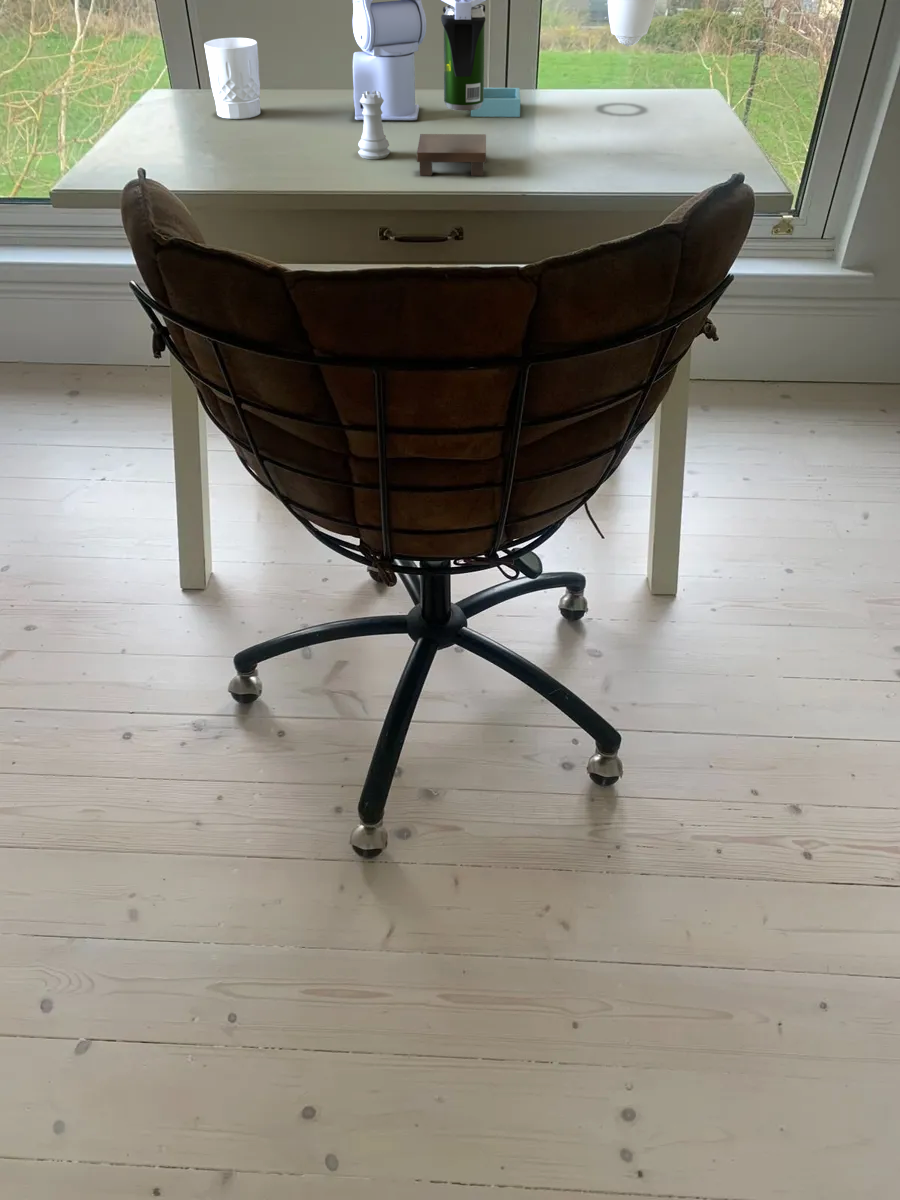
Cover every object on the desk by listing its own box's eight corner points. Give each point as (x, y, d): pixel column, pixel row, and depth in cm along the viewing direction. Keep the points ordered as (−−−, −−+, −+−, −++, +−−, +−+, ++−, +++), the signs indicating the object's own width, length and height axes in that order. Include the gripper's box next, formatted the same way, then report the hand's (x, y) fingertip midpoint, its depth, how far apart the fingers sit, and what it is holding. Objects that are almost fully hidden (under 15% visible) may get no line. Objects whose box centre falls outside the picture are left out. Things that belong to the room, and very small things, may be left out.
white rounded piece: (654, 110, 165) (671, -43, 152) (619, 117, 162) (633, -39, 149) (624, 101, 170) (637, -49, 157) (589, 107, 167) (600, -45, 154)
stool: (417, 176, 139) (416, 152, 137) (420, 156, 146) (420, 133, 144) (485, 176, 139) (485, 152, 137) (485, 157, 146) (486, 134, 144)
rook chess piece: (394, 158, 145) (392, 95, 140) (363, 161, 144) (359, 98, 139) (384, 149, 149) (382, 88, 144) (354, 152, 147) (350, 90, 143)
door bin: (470, 116, 163) (471, 99, 161) (471, 104, 169) (471, 87, 167) (519, 116, 163) (520, 99, 161) (518, 104, 169) (519, 87, 167)
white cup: (274, 111, 166) (267, 40, 159) (244, 122, 160) (236, 50, 154) (233, 105, 168) (225, 35, 162) (203, 116, 163) (193, 45, 157)
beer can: (491, 106, 143) (493, 6, 136) (461, 113, 141) (461, 11, 133) (466, 99, 147) (466, 1, 139) (436, 105, 144) (435, 6, 136)
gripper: (496, -40, 127) (493, 83, 135) (495, -55, 138) (492, 59, 146) (437, -40, 127) (438, 83, 135) (441, -55, 138) (442, 59, 147)
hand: (463, 71), depth 141 cm, fingers closed on beer can, 5 cm apart
